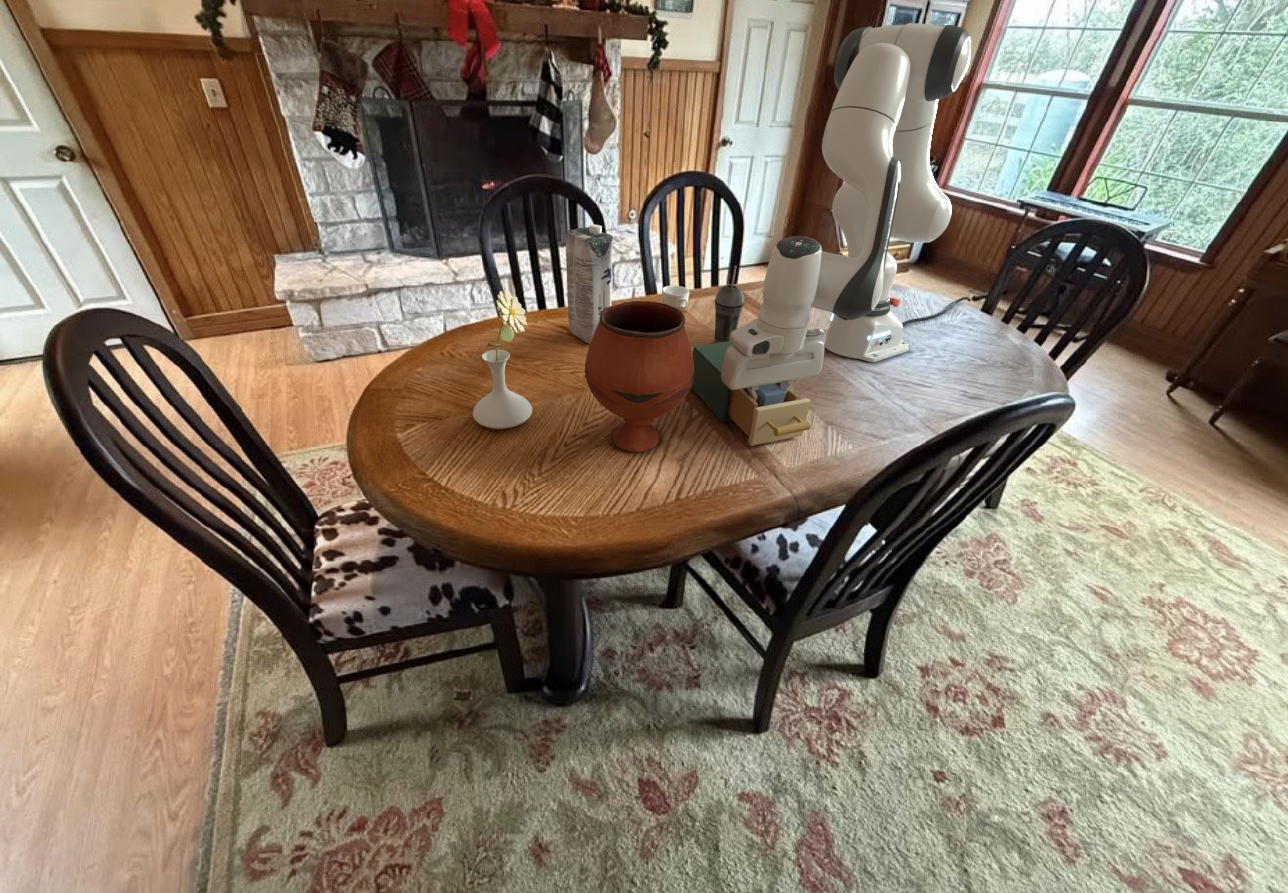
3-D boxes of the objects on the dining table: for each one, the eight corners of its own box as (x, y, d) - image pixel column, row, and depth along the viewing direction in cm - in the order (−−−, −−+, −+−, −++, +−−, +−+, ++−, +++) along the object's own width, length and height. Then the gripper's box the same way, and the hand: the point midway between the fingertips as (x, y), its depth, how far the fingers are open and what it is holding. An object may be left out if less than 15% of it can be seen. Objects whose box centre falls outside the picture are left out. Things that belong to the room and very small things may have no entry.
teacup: (655, 305, 160) (657, 287, 157) (677, 301, 163) (679, 283, 160) (674, 318, 153) (676, 299, 150) (697, 313, 156) (699, 295, 153)
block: (769, 400, 109) (773, 381, 107) (781, 412, 106) (785, 392, 103) (749, 404, 108) (753, 384, 105) (761, 415, 105) (765, 395, 102)
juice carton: (587, 347, 136) (585, 234, 120) (564, 332, 142) (559, 223, 126) (615, 338, 141) (617, 229, 125) (592, 324, 147) (591, 218, 131)
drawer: (814, 447, 104) (824, 412, 99) (762, 458, 100) (770, 422, 96) (762, 398, 118) (769, 366, 113) (715, 407, 114) (720, 373, 109)
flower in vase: (504, 441, 102) (488, 314, 87) (461, 421, 107) (439, 297, 92) (550, 411, 111) (542, 291, 97) (508, 394, 116) (495, 277, 101)
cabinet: (775, 411, 115) (784, 371, 109) (722, 421, 111) (728, 380, 105) (738, 377, 127) (744, 339, 121) (689, 385, 123) (693, 346, 117)
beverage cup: (705, 348, 139) (715, 269, 127) (713, 337, 144) (723, 260, 132) (733, 354, 136) (745, 274, 125) (740, 342, 142) (753, 265, 130)
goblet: (682, 413, 113) (694, 295, 98) (690, 470, 98) (706, 341, 83) (589, 410, 112) (587, 291, 98) (582, 468, 97) (579, 337, 82)
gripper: (817, 320, 104) (802, 384, 112) (722, 333, 97) (712, 400, 105) (838, 334, 99) (820, 400, 107) (739, 348, 92) (728, 417, 100)
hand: (766, 400), depth 106 cm, fingers closed on block, 4 cm apart
